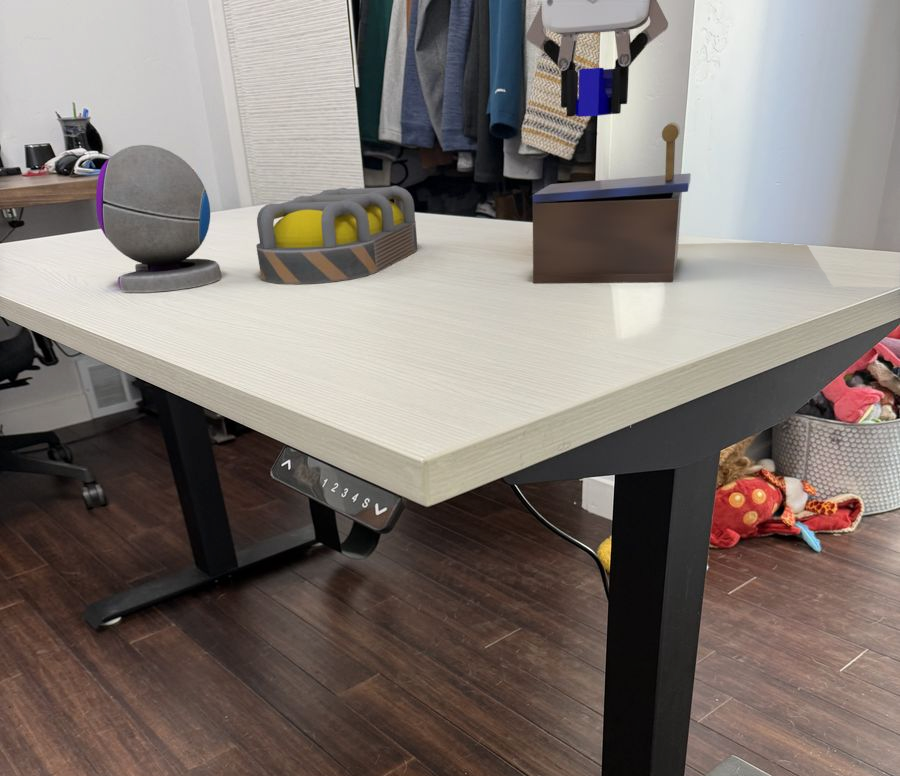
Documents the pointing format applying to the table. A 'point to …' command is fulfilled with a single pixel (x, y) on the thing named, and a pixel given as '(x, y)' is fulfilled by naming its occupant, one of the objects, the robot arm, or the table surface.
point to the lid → (623, 181)
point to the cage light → (335, 235)
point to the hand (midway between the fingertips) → (593, 112)
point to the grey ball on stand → (155, 218)
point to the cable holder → (594, 92)
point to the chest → (607, 239)
